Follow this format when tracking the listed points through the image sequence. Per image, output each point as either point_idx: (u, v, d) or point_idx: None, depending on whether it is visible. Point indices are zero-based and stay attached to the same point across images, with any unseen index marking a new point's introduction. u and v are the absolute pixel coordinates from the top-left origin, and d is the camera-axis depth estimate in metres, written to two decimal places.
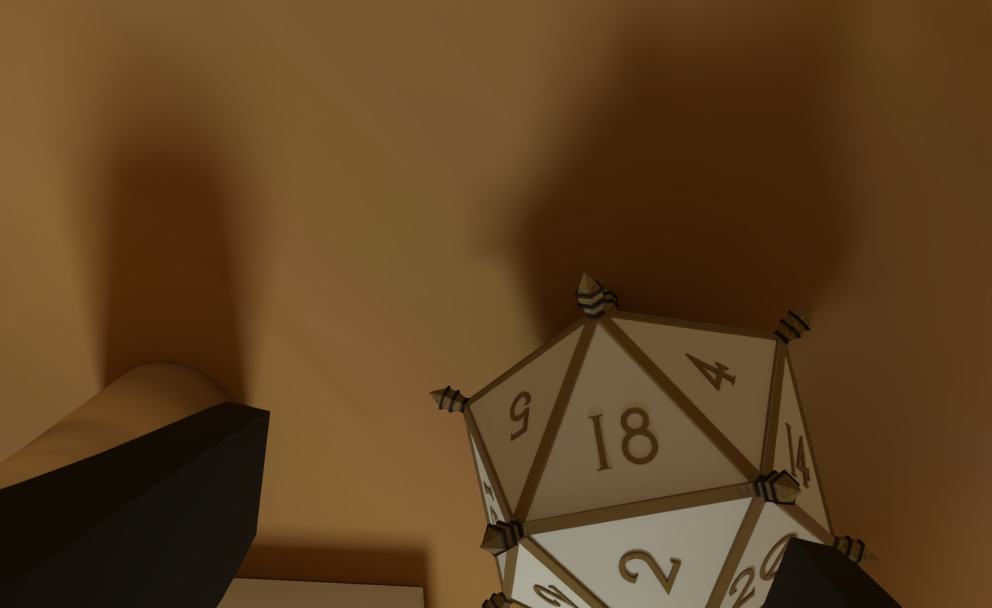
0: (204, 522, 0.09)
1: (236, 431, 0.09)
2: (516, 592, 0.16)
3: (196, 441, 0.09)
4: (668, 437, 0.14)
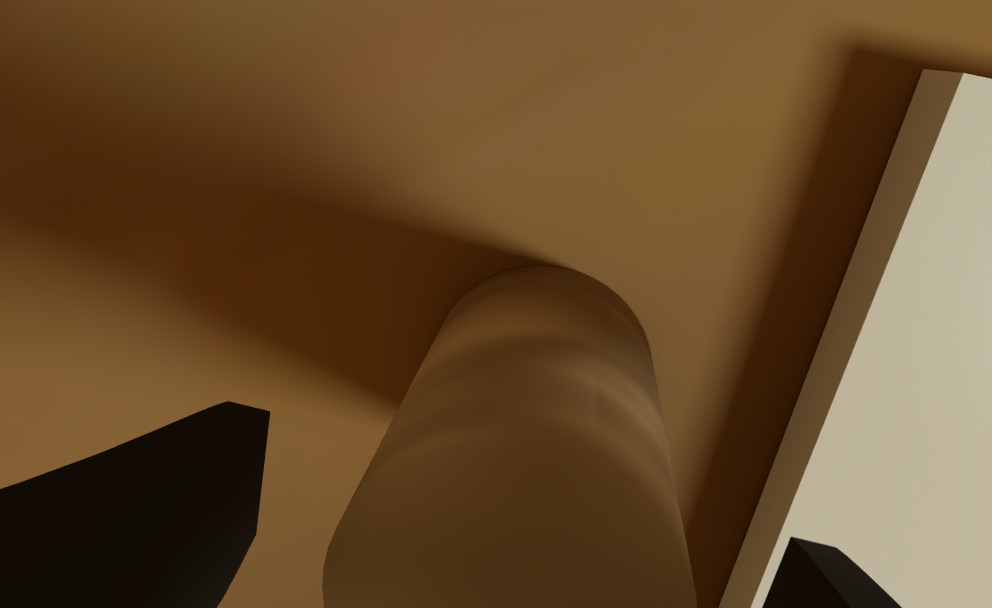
0: (204, 522, 0.09)
1: (236, 431, 0.09)
2: None
3: (196, 441, 0.09)
4: None
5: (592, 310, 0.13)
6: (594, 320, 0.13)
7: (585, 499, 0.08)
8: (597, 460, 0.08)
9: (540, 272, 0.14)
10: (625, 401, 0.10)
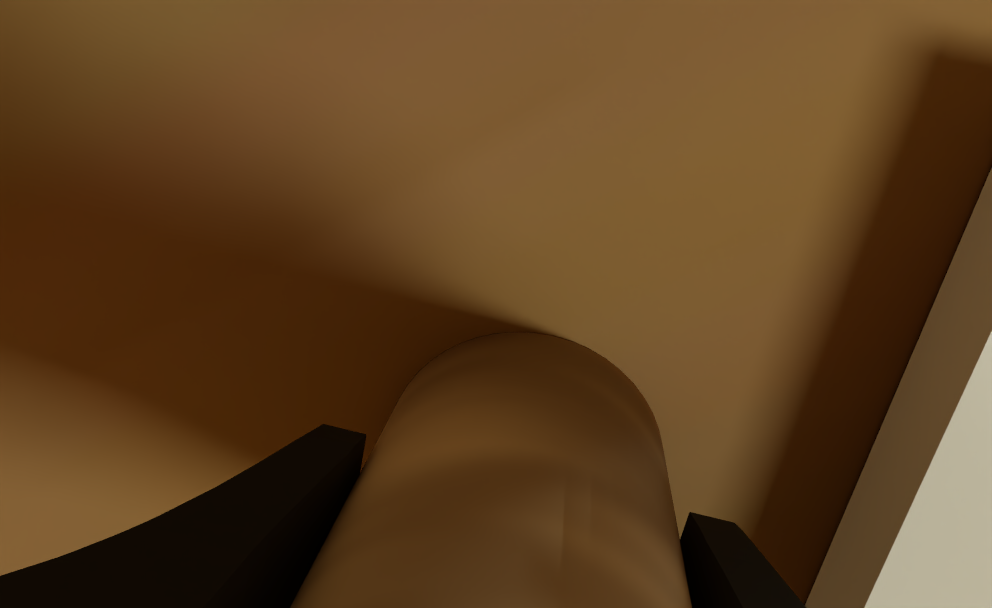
0: (314, 549, 0.09)
1: (344, 457, 0.09)
2: None
3: (310, 469, 0.09)
4: None
5: (586, 404, 0.10)
6: (589, 423, 0.09)
7: None
8: None
9: (519, 344, 0.11)
10: (634, 571, 0.07)
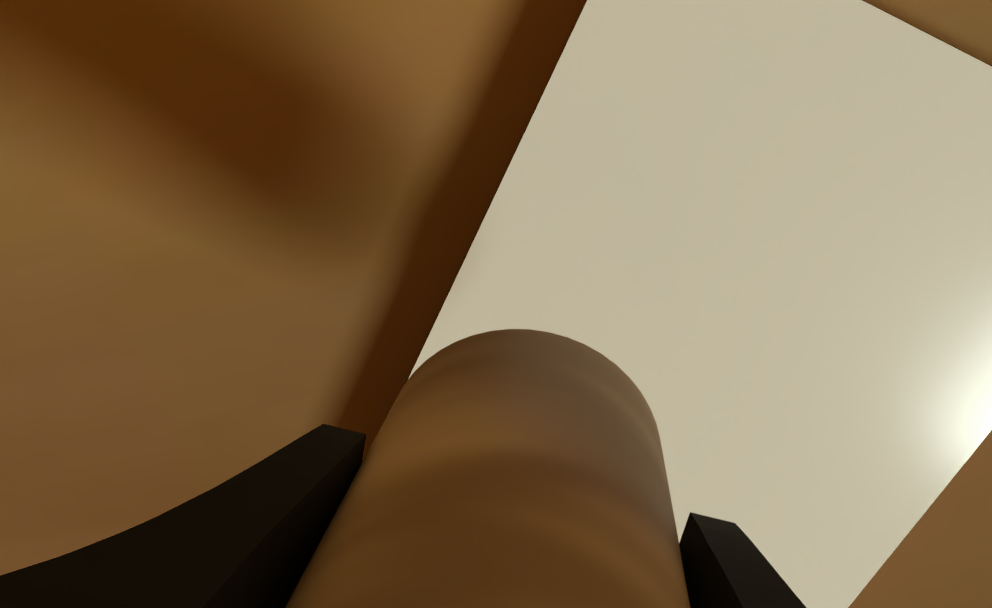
0: (314, 550, 0.09)
1: (343, 457, 0.09)
2: None
3: (309, 469, 0.09)
4: None
5: (580, 398, 0.10)
6: (583, 416, 0.09)
7: None
8: None
9: (513, 340, 0.11)
10: (626, 561, 0.07)
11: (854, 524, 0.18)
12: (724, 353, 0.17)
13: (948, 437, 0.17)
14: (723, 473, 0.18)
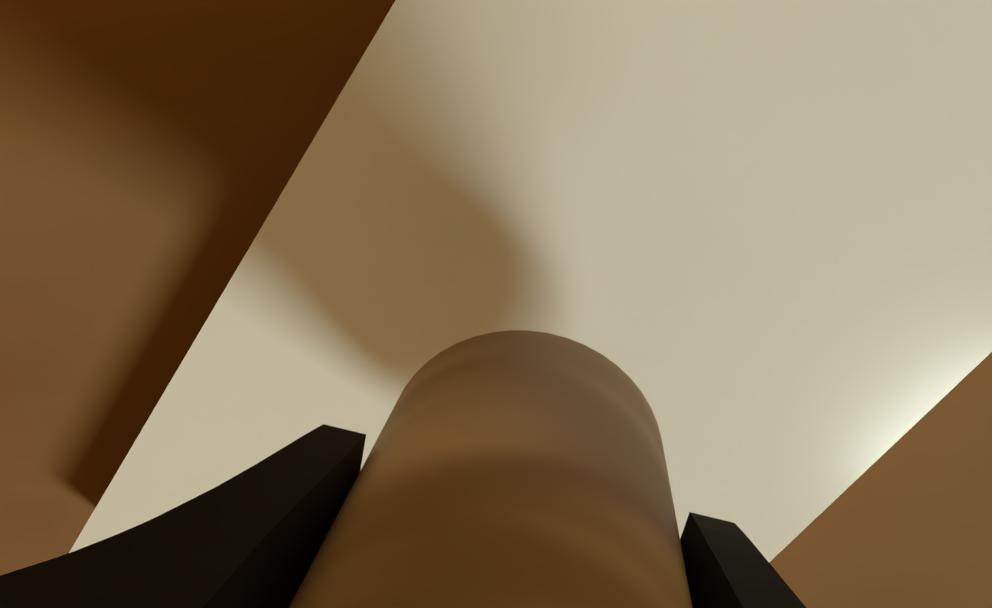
0: (314, 549, 0.09)
1: (344, 457, 0.09)
2: None
3: (310, 469, 0.09)
4: None
5: (580, 399, 0.10)
6: (583, 417, 0.09)
7: None
8: None
9: (513, 341, 0.11)
10: (626, 563, 0.07)
11: (744, 511, 0.15)
12: (623, 281, 0.14)
13: (867, 423, 0.14)
14: None
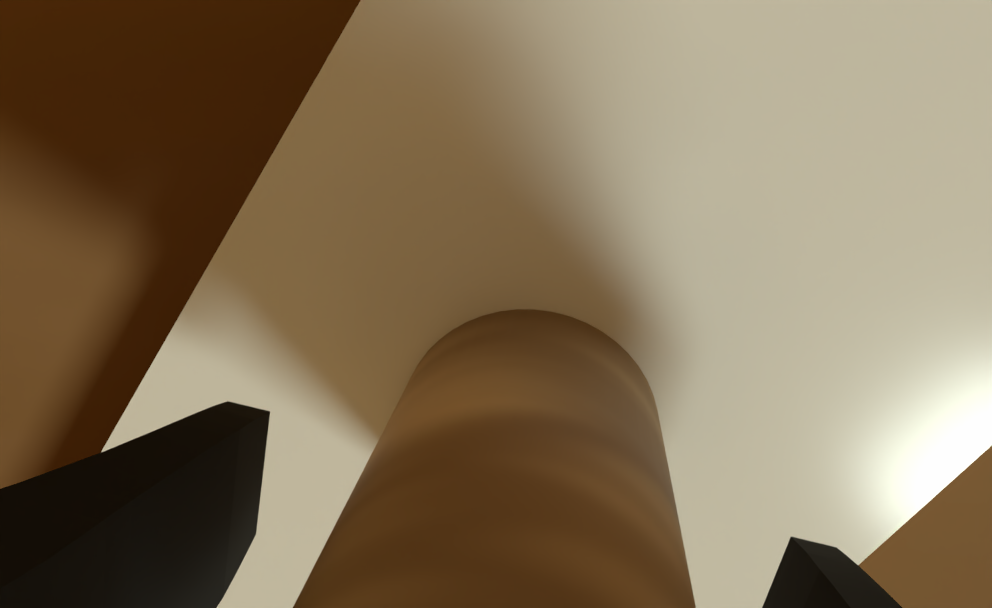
0: (204, 522, 0.09)
1: (236, 431, 0.09)
2: None
3: (196, 441, 0.09)
4: None
5: (583, 368, 0.11)
6: (585, 383, 0.10)
7: None
8: None
9: (520, 319, 0.12)
10: (626, 504, 0.08)
11: (761, 571, 0.14)
12: (626, 316, 0.12)
13: (902, 475, 0.13)
14: None
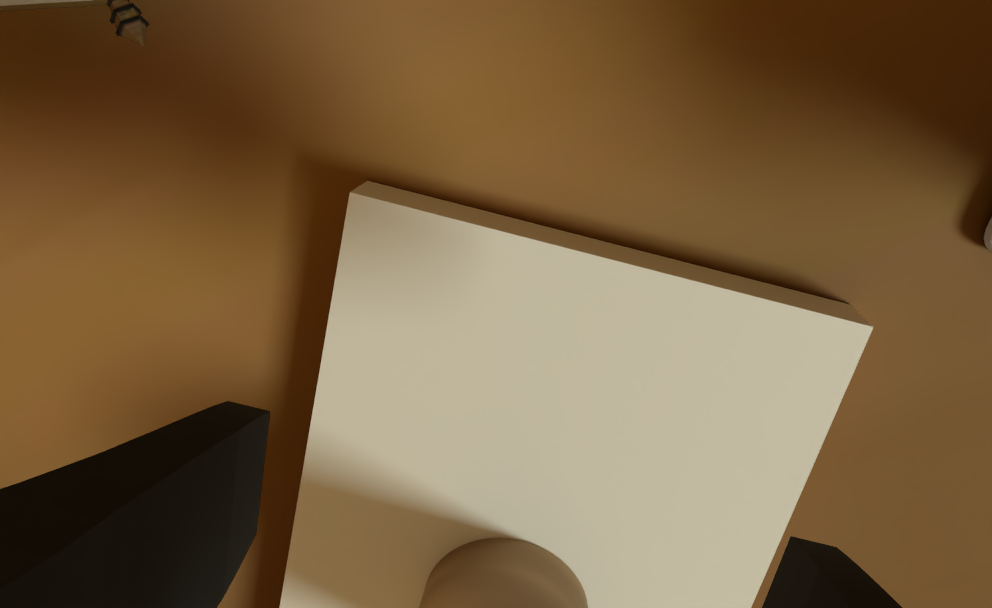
0: (204, 522, 0.09)
1: (236, 431, 0.09)
2: None
3: (196, 441, 0.09)
4: None
5: (499, 588, 0.18)
6: (499, 601, 0.18)
7: None
8: None
9: (468, 553, 0.20)
10: None
11: None
12: (530, 527, 0.20)
13: (739, 565, 0.19)
14: None
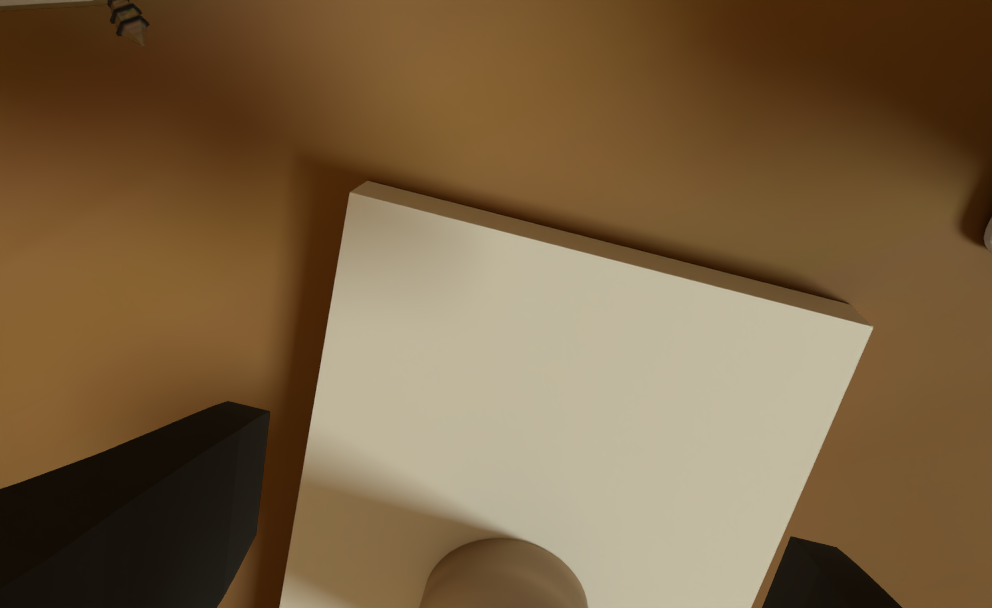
0: (204, 522, 0.09)
1: (236, 431, 0.09)
2: None
3: (196, 441, 0.09)
4: None
5: (500, 588, 0.18)
6: (499, 602, 0.18)
7: None
8: None
9: (468, 553, 0.20)
10: None
11: None
12: (530, 527, 0.20)
13: (739, 565, 0.19)
14: None
